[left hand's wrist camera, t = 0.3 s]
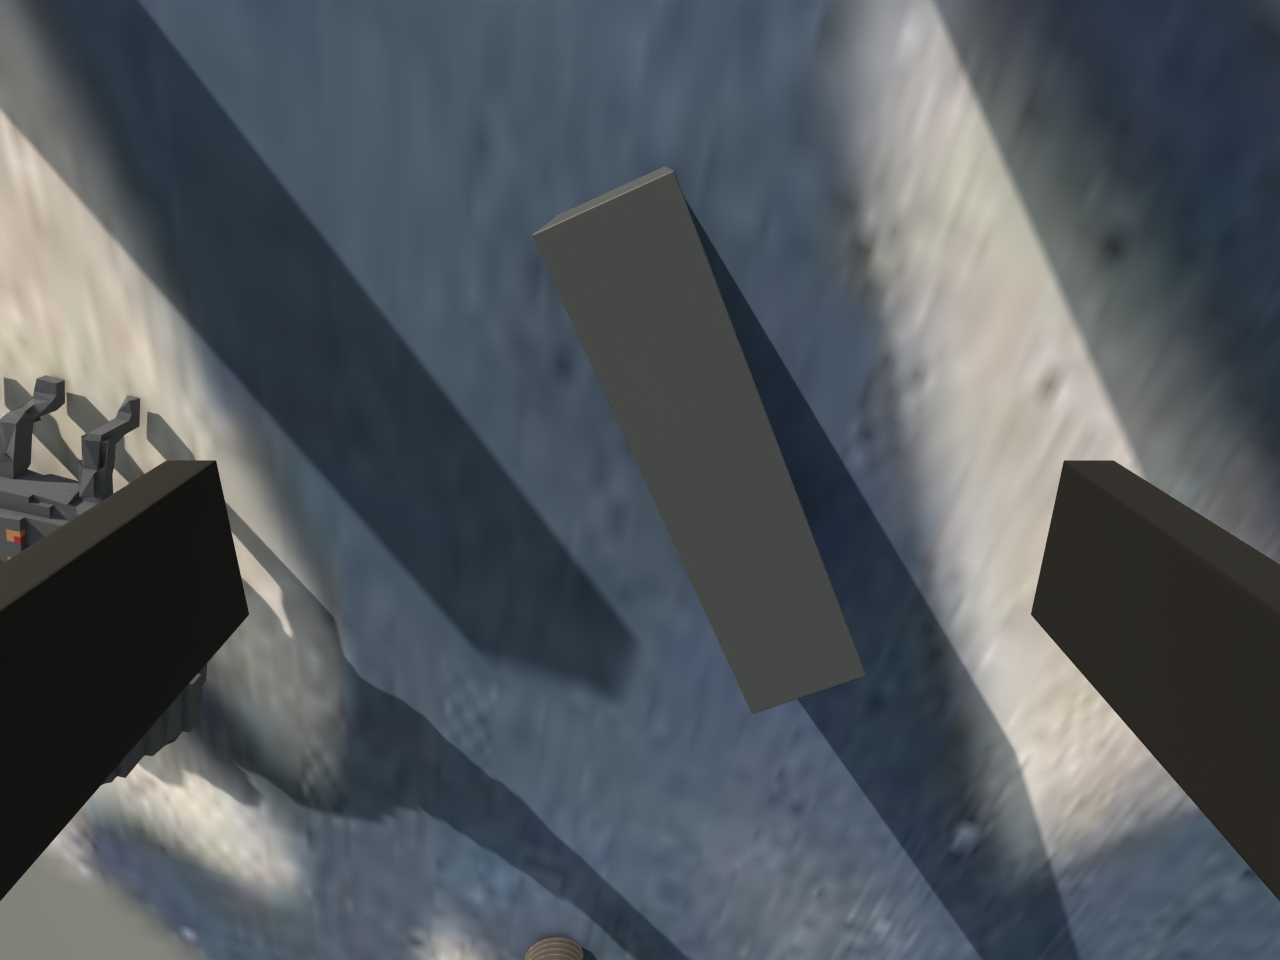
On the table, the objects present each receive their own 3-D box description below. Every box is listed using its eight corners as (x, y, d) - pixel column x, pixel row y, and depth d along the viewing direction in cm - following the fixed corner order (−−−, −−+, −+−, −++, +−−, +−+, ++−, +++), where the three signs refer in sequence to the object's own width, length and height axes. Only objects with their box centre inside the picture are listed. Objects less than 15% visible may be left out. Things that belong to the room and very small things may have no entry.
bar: (557, 215, 35) (531, 234, 26) (665, 165, 34) (673, 169, 26) (730, 605, 42) (752, 714, 34) (822, 572, 42) (866, 676, 33)
